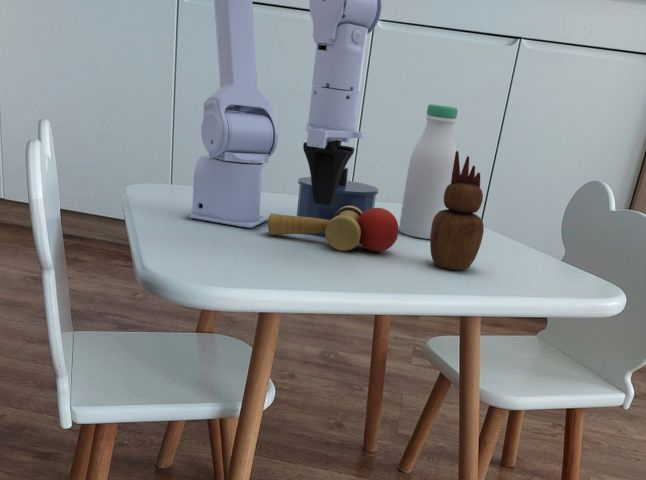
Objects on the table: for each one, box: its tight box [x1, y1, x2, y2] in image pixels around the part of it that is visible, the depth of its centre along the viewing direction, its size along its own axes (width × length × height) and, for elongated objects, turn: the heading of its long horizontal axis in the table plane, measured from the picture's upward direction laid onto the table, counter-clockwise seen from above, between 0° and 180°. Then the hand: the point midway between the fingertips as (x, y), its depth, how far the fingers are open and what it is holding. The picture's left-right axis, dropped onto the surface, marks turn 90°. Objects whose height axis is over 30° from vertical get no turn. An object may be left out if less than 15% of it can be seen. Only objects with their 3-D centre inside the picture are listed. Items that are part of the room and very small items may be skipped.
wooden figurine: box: [429, 150, 485, 271], centre depth 90 cm, size 7×6×15 cm
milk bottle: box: [398, 103, 458, 240], centre depth 108 cm, size 8×8×20 cm
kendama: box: [267, 206, 399, 253], centre depth 95 cm, size 8×6×18 cm
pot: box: [296, 184, 377, 238], centre depth 104 cm, size 11×11×6 cm
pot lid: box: [297, 166, 379, 196], centre depth 103 cm, size 12×12×4 cm
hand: (322, 203), depth 86 cm, fingers closed
